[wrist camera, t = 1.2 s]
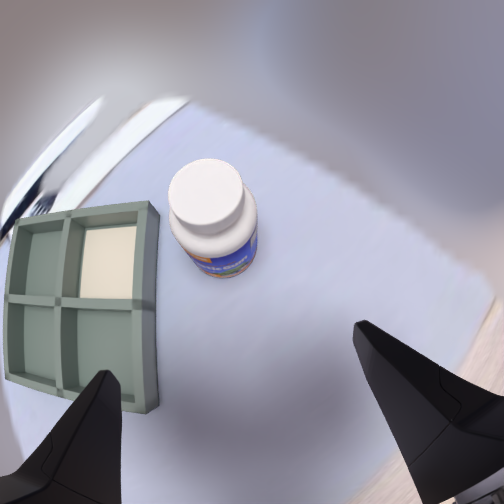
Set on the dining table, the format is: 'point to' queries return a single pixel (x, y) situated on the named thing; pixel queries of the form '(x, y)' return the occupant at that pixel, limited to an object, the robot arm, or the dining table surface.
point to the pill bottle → (213, 217)
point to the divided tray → (84, 302)
